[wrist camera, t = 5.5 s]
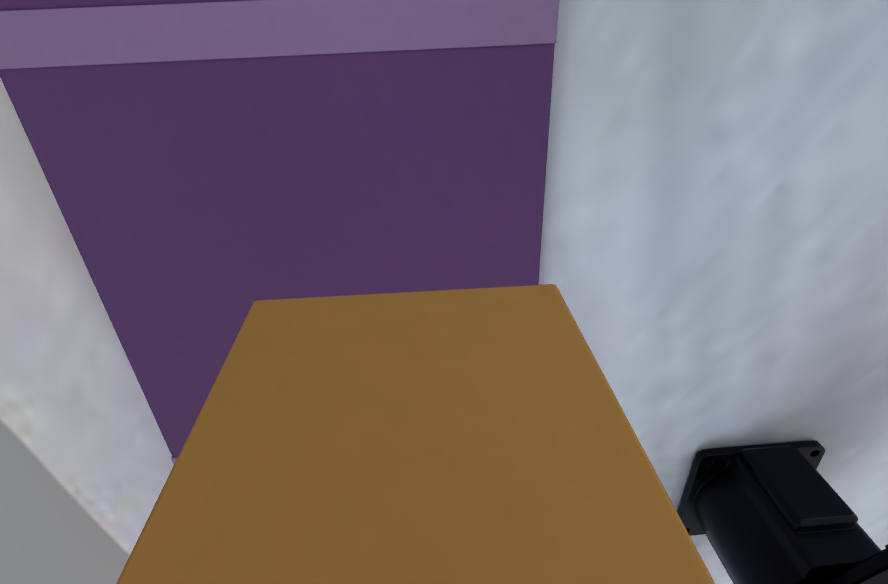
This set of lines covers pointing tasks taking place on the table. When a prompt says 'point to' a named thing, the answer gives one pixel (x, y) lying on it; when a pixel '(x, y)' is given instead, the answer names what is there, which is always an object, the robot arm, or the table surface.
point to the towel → (280, 157)
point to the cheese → (413, 454)
